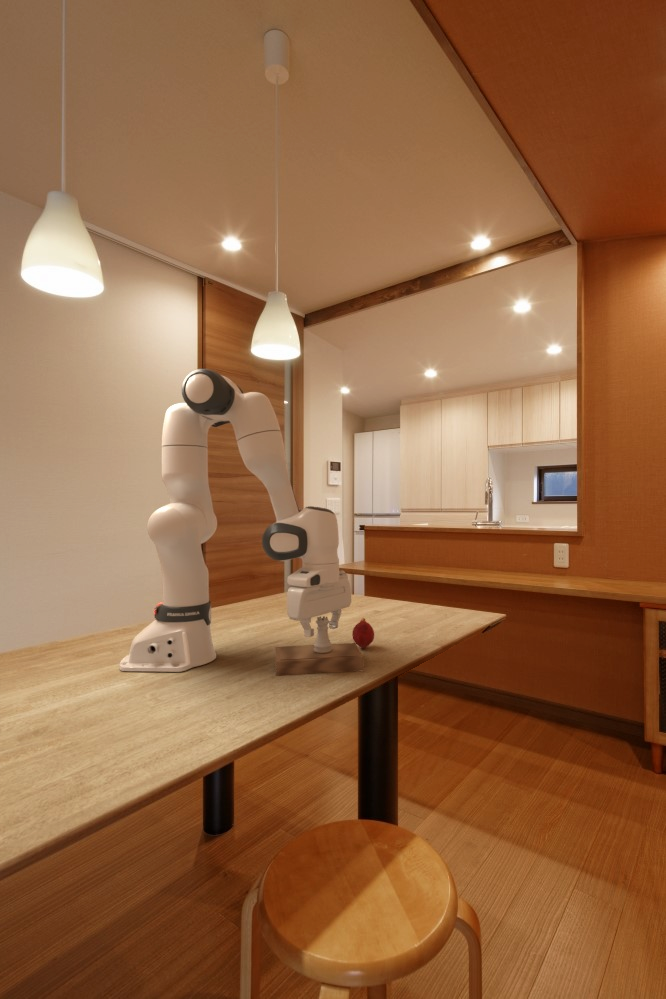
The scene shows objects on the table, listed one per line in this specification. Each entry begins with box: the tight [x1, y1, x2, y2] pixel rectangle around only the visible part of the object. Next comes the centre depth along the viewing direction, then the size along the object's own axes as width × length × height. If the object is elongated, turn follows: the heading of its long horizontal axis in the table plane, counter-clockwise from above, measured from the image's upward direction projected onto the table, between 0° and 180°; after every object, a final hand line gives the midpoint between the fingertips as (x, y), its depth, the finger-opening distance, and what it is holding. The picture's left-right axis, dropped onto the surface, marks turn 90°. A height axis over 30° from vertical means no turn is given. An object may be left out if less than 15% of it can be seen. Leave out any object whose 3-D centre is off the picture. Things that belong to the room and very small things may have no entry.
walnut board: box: [275, 642, 365, 676], centre depth 118 cm, size 20×12×3 cm, turn 97°
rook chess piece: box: [313, 615, 333, 654], centre depth 118 cm, size 4×4×8 cm
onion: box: [351, 617, 375, 650], centre depth 130 cm, size 6×6×8 cm
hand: (321, 632), depth 118 cm, fingers open, 8 cm apart
